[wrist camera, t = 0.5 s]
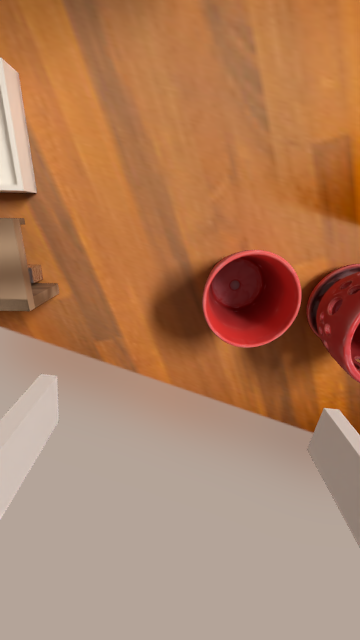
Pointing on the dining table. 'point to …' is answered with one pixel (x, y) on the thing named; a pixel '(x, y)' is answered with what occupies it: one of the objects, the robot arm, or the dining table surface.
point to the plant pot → (338, 316)
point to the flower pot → (251, 298)
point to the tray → (14, 136)
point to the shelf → (18, 272)
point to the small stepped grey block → (35, 273)
